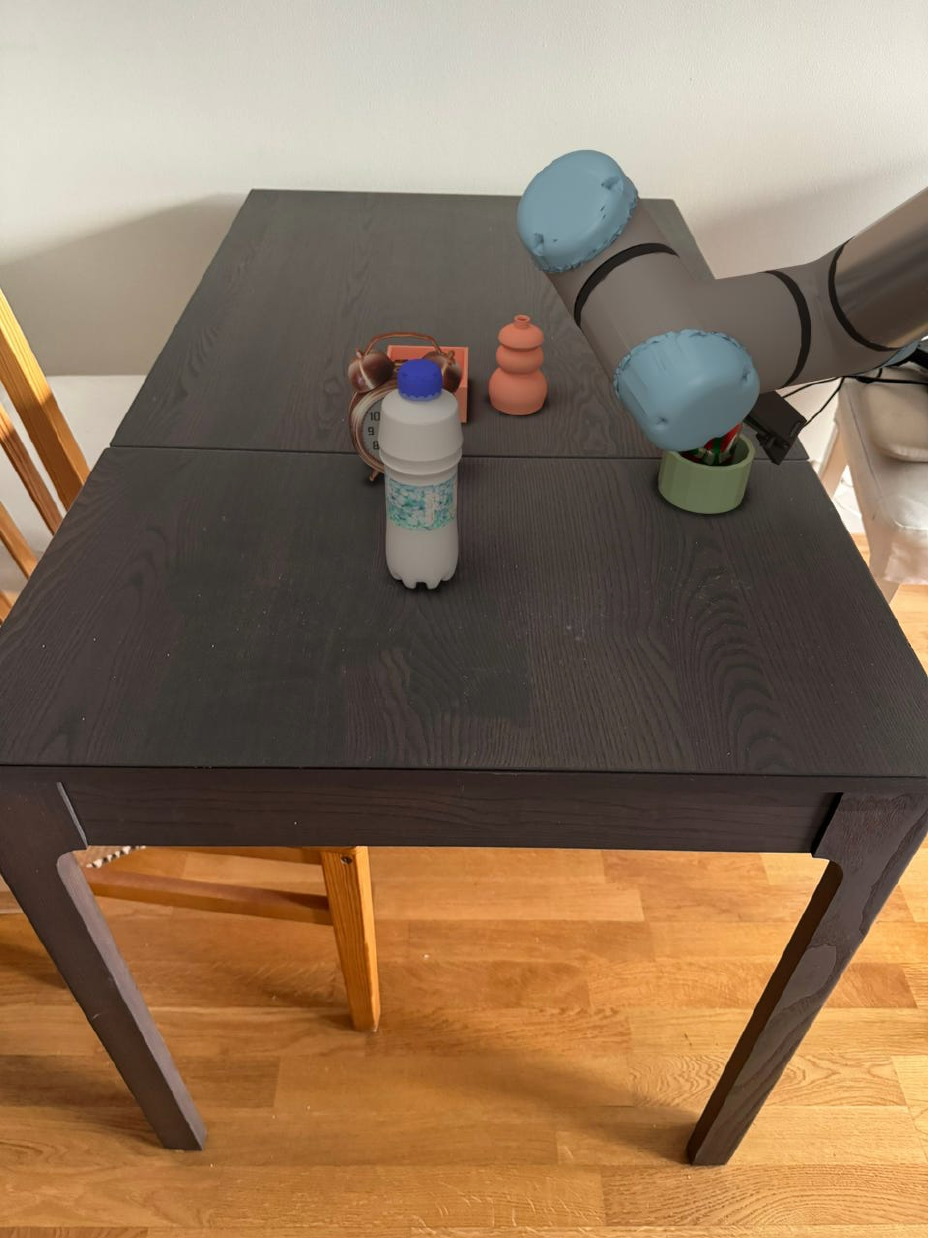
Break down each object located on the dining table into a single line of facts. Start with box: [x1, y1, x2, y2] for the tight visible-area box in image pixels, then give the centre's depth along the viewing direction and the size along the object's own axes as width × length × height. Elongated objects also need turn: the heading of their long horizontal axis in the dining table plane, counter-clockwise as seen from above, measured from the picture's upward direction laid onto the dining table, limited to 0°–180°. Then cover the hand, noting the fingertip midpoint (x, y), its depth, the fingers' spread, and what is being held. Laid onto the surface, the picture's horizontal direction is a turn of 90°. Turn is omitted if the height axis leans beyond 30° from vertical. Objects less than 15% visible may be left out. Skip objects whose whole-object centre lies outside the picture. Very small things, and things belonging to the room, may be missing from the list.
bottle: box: [378, 359, 464, 590], centre depth 75 cm, size 7×7×20 cm
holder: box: [657, 432, 756, 515], centre depth 91 cm, size 8×8×5 cm
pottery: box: [386, 314, 548, 423], centre depth 101 cm, size 18×10×10 cm, turn 89°
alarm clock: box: [347, 331, 462, 482], centre depth 89 cm, size 11×5×15 cm, turn 94°
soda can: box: [680, 421, 744, 467], centre depth 88 cm, size 5×5×12 cm
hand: (721, 423), depth 88 cm, fingers open, 13 cm apart
